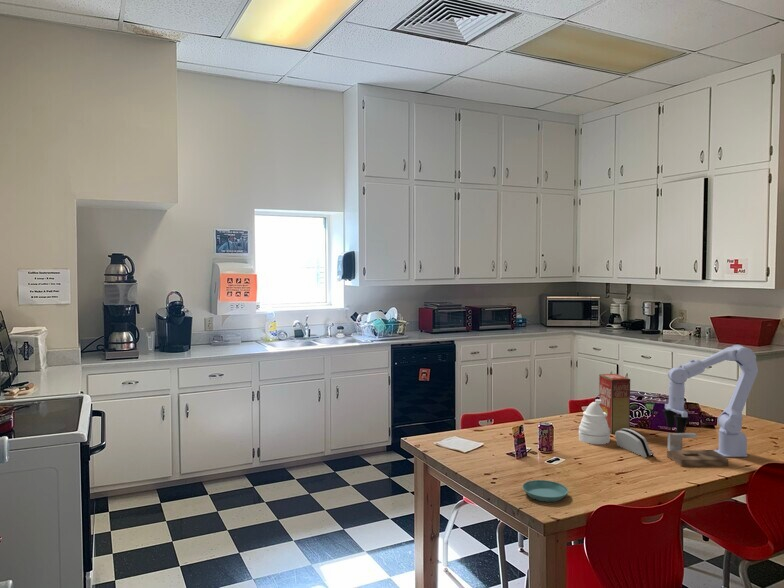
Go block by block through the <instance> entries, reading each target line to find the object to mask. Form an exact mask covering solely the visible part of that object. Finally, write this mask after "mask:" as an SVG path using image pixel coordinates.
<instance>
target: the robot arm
mask: <svg viewBox="0 0 784 588" xmlns="http://www.w3.org/2000/svg"><path fill="white" fill-rule="evenodd" d="M724 361H726V362H727V361H729V362H735V363H737V365H738V367H739V369H740V370H741V371H740V375H739V376H738V379H737V381H736V384H735V387H734V389H733V392H732V394H731V397H730V400H729V402H728V405H727V406H726V407H725V408H724V409H723V411H722V412H721V414H719V415H718V417H717V423H718V425H719V427H720V428H719V429H718V449H713V451H714V452H716V453H718V454H720V455H721V456H723V457H725V458H731V457H732V458H734V457H735V458H737V457H738V458H740V457H742V458H743V457H746V458H747V457H748V453H747V452H748V451H747V450H748V439H747V435H746V434H745V433H744V432H742V428H743V424H742V423H743V420H744V419H743V410H744V407H745V406H746V404H747V403H746V402H747V400H748V398H749V397H750V396H749V395H750V393H751V390H752V388H753V385H754V382H755V380H756V378H757V375H758V373H759V368H758V363H757V354H755V352H754V351H753V350H752V349H751V348H749V347H746V346H743V345H742V344H733V345H732V346H729V347H728V346H727V347H725V348H723V349H722V350H720V351H718V352H715V353H713V354H712V355H709V356H708V357H705V358H703V359H702V360H700V359H693V358H692V359H690V360H689V362H687V363H684V364H679V365H678V367H677V366H676V367H672V368H670V369H669V370H668V373H667V377H668V379H669V386H668V403H664V409H662V413H663V415H664V418H665V422H666V427H667V428H668V429H669V428H670V429H671V428H672V429H674V428H675V427H676V429H675V430H676V433H684V430H685V427H686V425H687V422H688V421H689V420H690V416H688V415H689V414H688V411H687V410H686V409H685V389H686V387H685V385H686V384H685V382H687V380H688V379H691V378H693V377H696V376H698V375H700V374H703V373H704V372H705V369H706V368H709V367H711V366H714V365H717V364H720V363H722V362H724ZM674 426H675V427H674Z"/></svg>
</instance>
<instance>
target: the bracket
mask: <svg viewBox="0 0 784 588" xmlns="http://www.w3.org/2000/svg"><path fill="white" fill-rule="evenodd" d="M697 435H698V434H697V433H695V432H683V433H677V432H673V433H671V432H668V433H667V449H668V450H670V451H678V450H683V439H692V438H693V439H694V438H695V439H696V438H698V436H697ZM668 450H667V451H668Z"/></svg>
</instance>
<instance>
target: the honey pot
mask: <svg viewBox="0 0 784 588" xmlns="http://www.w3.org/2000/svg"><path fill="white" fill-rule="evenodd" d="M601 401H602V400H600V399H598V398H596V399H595V401H592V402H591V403H589V405H588V406H587V407H586V409H585V410H584V411H583V412H582V414H583V416H582V418H581V421H580V424H579V425H578V440H579V441H580V442H582V443H585V444H589V443H590V444H589V445H607V444H609V443H610V442H611V441H610V439H611V435H610V434H611V433H610V429H609V427H608V424H607V420H606V418H605V417H606V416H607V414H606V413H605V412H603V410H602V408H601V407H600V405H599V404H600V403H601ZM606 443H607V444H606Z"/></svg>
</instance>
